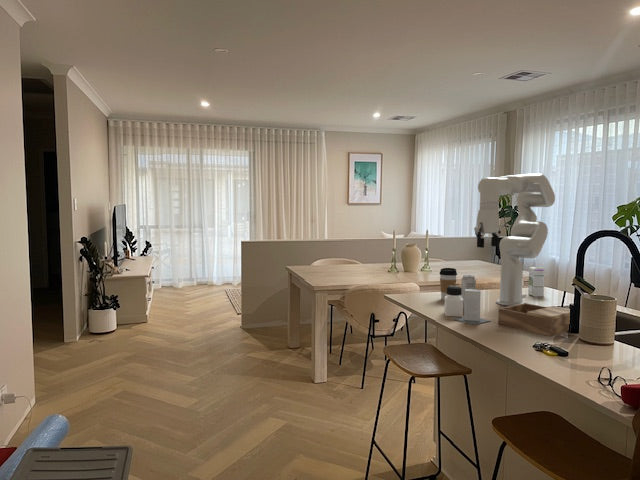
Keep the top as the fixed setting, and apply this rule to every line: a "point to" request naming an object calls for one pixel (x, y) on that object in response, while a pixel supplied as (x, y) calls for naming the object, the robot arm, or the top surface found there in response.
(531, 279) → the syrup box
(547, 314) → the walnut crate
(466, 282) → the energy drink can
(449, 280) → the coffee cup
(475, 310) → the skincare box
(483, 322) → the charcoal pad
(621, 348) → the top surface
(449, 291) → the medicine bottle
